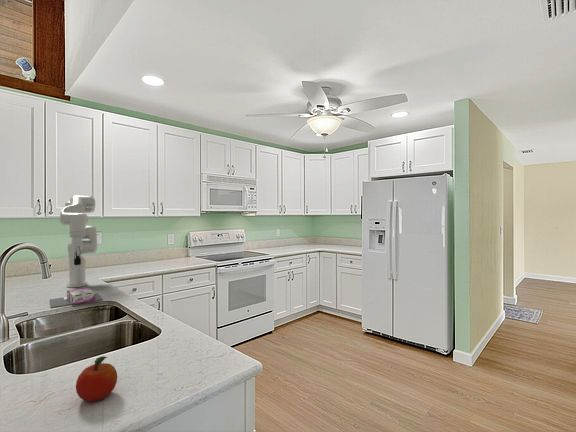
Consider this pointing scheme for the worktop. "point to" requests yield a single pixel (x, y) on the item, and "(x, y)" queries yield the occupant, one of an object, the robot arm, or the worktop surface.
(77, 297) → the candy bar box
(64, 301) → the mat
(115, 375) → the fruit
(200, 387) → the worktop surface
